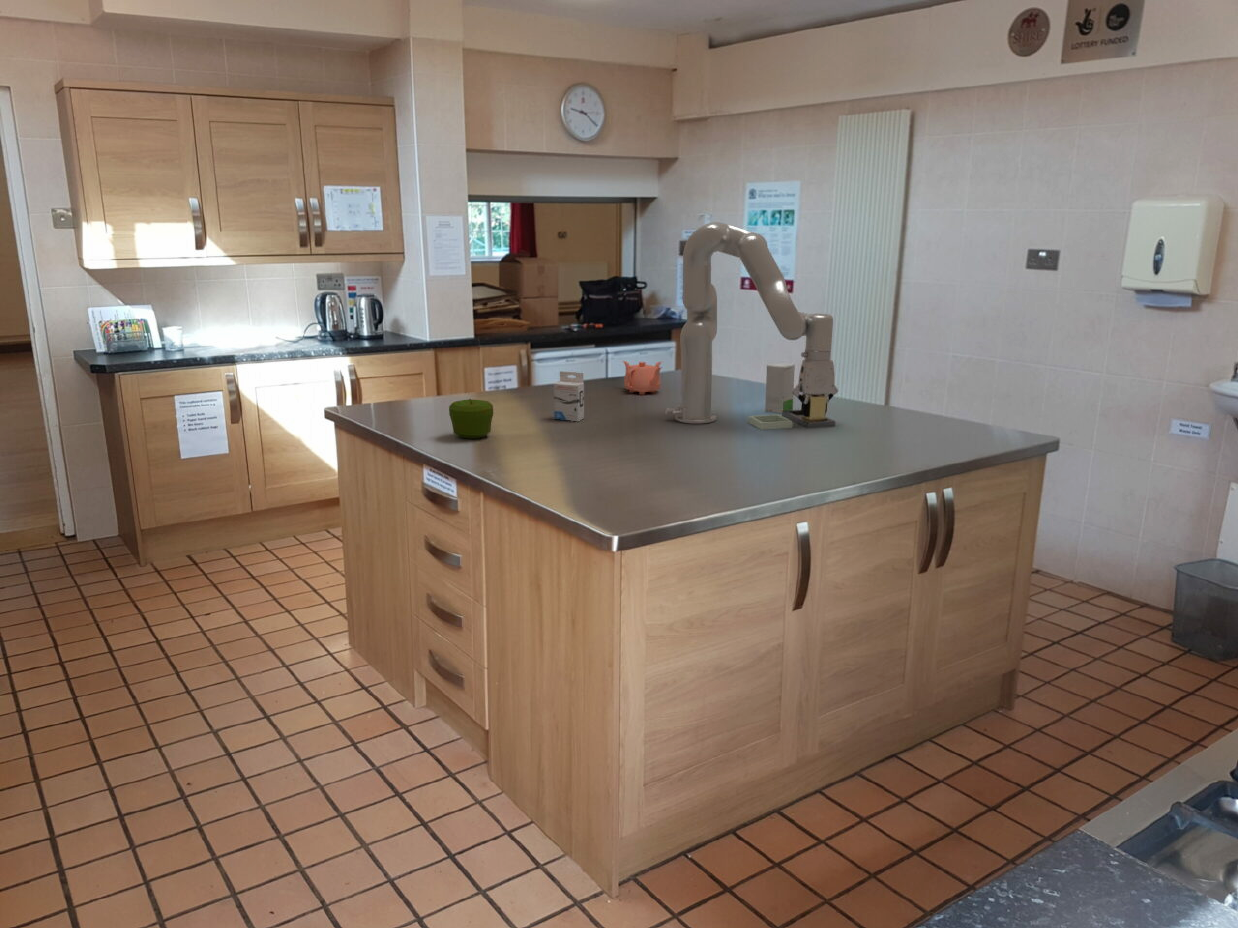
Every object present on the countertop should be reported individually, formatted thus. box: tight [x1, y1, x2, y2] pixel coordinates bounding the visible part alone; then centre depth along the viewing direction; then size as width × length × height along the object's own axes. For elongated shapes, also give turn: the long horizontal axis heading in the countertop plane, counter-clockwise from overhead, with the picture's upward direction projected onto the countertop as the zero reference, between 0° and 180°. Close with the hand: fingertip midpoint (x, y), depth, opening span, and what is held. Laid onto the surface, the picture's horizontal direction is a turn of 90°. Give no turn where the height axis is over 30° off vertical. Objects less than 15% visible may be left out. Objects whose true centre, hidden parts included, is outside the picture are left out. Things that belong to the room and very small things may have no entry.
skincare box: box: [764, 362, 796, 415], centre depth 299 cm, size 8×7×16 cm
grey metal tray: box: [781, 409, 836, 429], centre depth 285 cm, size 9×18×2 cm, turn 15°
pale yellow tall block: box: [802, 394, 826, 422], centre depth 280 cm, size 5×5×9 cm
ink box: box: [553, 371, 585, 422], centre depth 288 cm, size 8×5×15 cm, turn 69°
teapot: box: [622, 360, 663, 396], centre depth 332 cm, size 14×14×11 cm
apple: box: [448, 398, 494, 439], centre depth 267 cm, size 12×12×11 cm
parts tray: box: [747, 413, 794, 431], centre depth 280 cm, size 10×10×2 cm
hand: (813, 415), depth 280 cm, fingers closed on pale yellow tall block, 5 cm apart
